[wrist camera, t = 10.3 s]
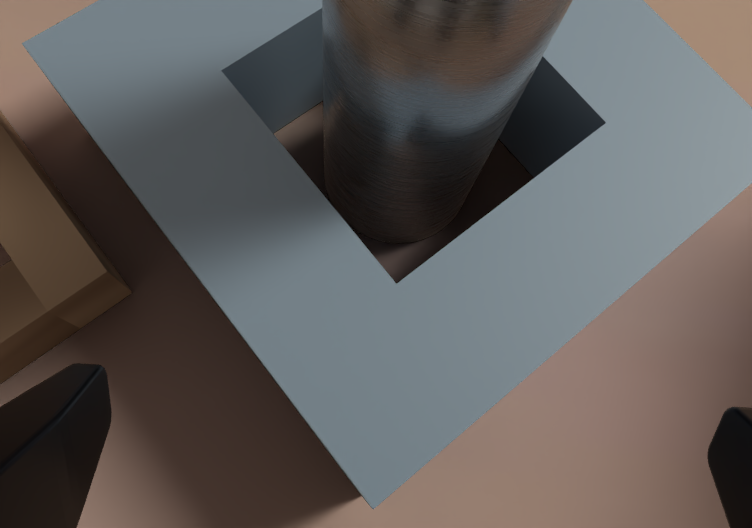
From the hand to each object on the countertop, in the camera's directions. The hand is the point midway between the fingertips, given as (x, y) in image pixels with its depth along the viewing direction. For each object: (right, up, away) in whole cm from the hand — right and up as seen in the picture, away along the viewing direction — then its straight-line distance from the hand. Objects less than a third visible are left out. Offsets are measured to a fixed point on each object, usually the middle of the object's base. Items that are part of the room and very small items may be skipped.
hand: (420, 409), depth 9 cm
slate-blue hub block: (0, +5, +9) cm, 10 cm away
